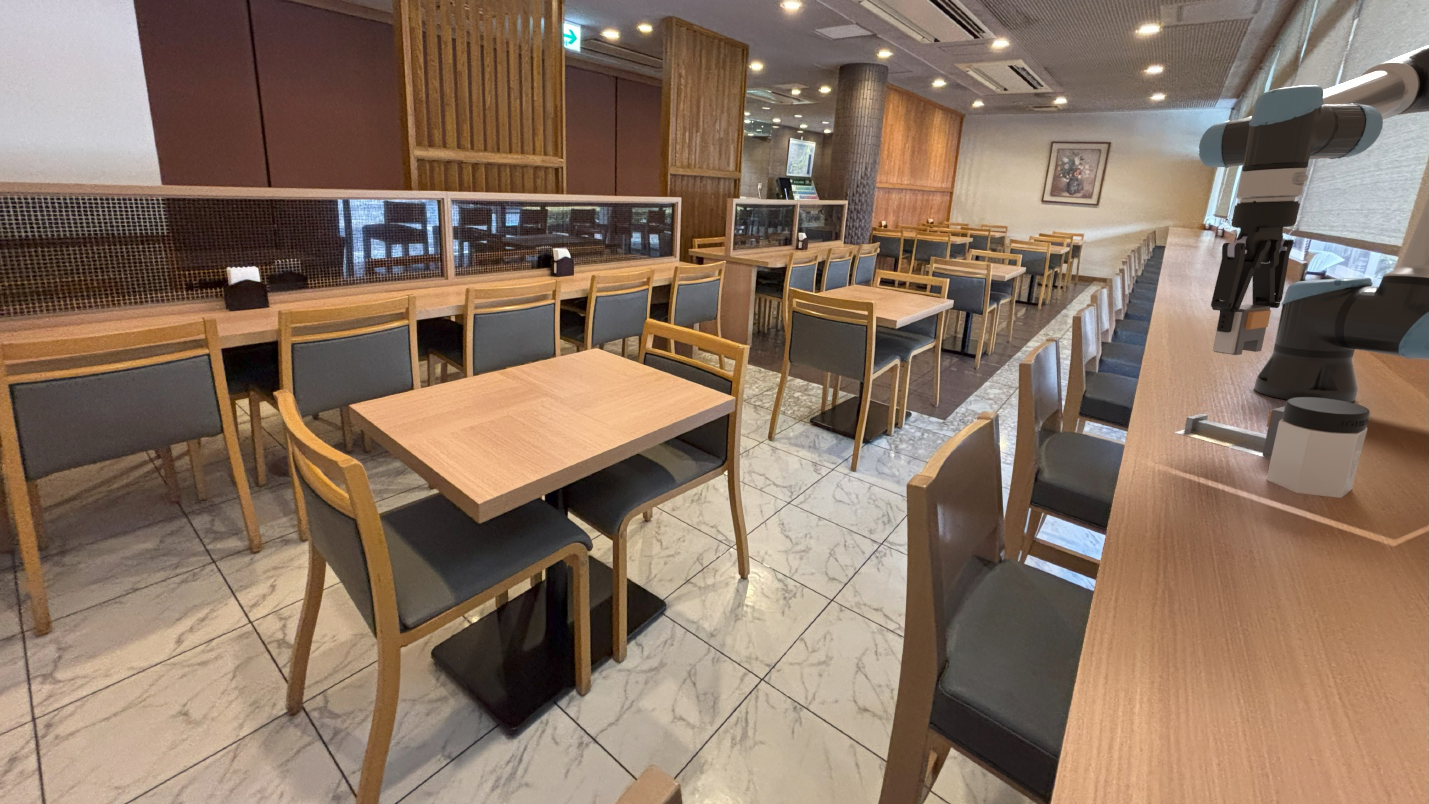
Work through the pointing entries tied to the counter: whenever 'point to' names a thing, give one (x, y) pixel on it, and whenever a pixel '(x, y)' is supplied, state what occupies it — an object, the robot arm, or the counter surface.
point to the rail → (1224, 435)
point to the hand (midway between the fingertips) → (1237, 349)
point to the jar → (1318, 446)
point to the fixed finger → (1272, 429)
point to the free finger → (1251, 328)
